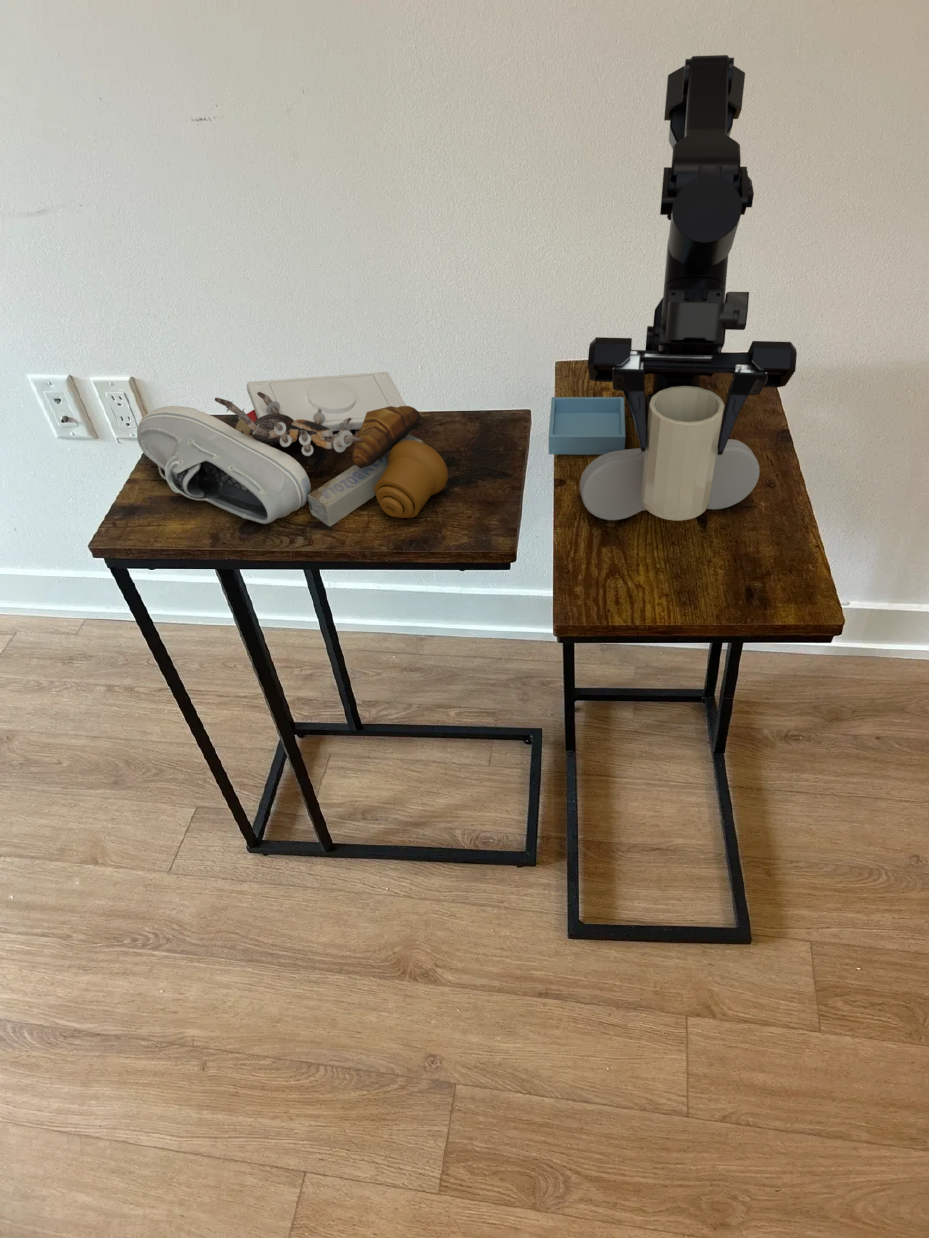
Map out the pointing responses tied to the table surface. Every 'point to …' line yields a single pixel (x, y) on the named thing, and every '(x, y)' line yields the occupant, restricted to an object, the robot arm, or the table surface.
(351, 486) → the grey printed bar
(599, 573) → the table surface
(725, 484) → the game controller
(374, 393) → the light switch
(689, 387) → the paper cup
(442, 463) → the ornamental finial
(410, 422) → the croissant
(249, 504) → the boat shoe
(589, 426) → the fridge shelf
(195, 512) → the table surface
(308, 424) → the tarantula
